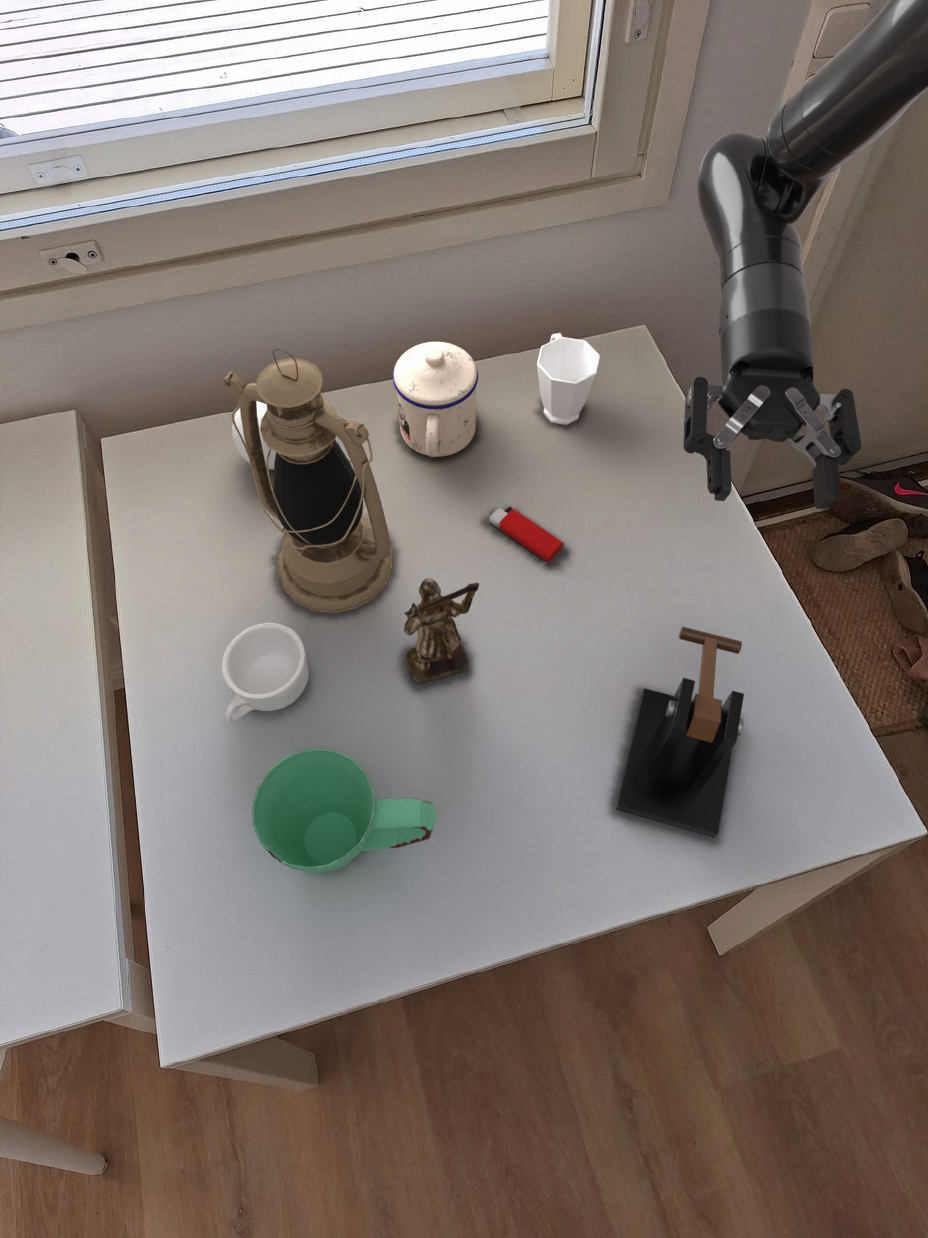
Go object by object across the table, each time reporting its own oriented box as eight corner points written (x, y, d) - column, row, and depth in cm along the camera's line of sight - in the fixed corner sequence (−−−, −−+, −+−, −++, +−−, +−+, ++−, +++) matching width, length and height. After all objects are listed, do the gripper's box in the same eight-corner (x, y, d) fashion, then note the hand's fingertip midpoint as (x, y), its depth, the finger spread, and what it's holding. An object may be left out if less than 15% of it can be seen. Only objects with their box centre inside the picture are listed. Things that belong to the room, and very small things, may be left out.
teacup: (268, 635, 89) (256, 609, 84) (330, 671, 87) (322, 646, 82) (204, 714, 85) (188, 691, 80) (267, 754, 83) (255, 733, 78)
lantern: (245, 579, 92) (155, 370, 66) (305, 496, 97) (243, 271, 71) (367, 634, 89) (323, 437, 62) (422, 546, 94) (403, 329, 67)
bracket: (641, 693, 85) (667, 631, 74) (734, 718, 84) (775, 659, 73) (615, 809, 80) (639, 762, 69) (714, 838, 79) (755, 794, 67)
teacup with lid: (402, 397, 104) (394, 320, 93) (479, 399, 103) (480, 323, 93) (392, 479, 98) (383, 406, 88) (474, 482, 98) (475, 410, 87)
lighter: (547, 558, 91) (488, 517, 94) (546, 564, 93) (487, 523, 95) (564, 540, 92) (504, 500, 95) (563, 547, 94) (504, 507, 96)
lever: (677, 638, 83) (684, 618, 81) (736, 653, 82) (744, 633, 80) (665, 730, 72) (673, 709, 71) (732, 748, 72) (741, 727, 70)
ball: (289, 494, 97) (274, 447, 90) (227, 469, 99) (208, 421, 92) (325, 442, 101) (314, 393, 93) (265, 419, 102) (249, 369, 95)
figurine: (474, 633, 89) (475, 552, 75) (486, 666, 87) (489, 589, 74) (403, 653, 88) (391, 573, 75) (413, 686, 86) (403, 611, 73)
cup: (538, 437, 101) (543, 387, 94) (521, 373, 105) (524, 321, 98) (598, 429, 101) (608, 378, 94) (578, 365, 106) (586, 313, 99)
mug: (269, 895, 77) (243, 868, 68) (282, 785, 81) (259, 747, 72) (438, 897, 76) (434, 870, 68) (441, 787, 81) (437, 749, 72)
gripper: (697, 298, 74) (703, 474, 69) (865, 312, 74) (882, 487, 69) (672, 350, 81) (675, 513, 76) (825, 363, 81) (838, 525, 76)
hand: (774, 501), depth 73 cm, fingers open, 8 cm apart
